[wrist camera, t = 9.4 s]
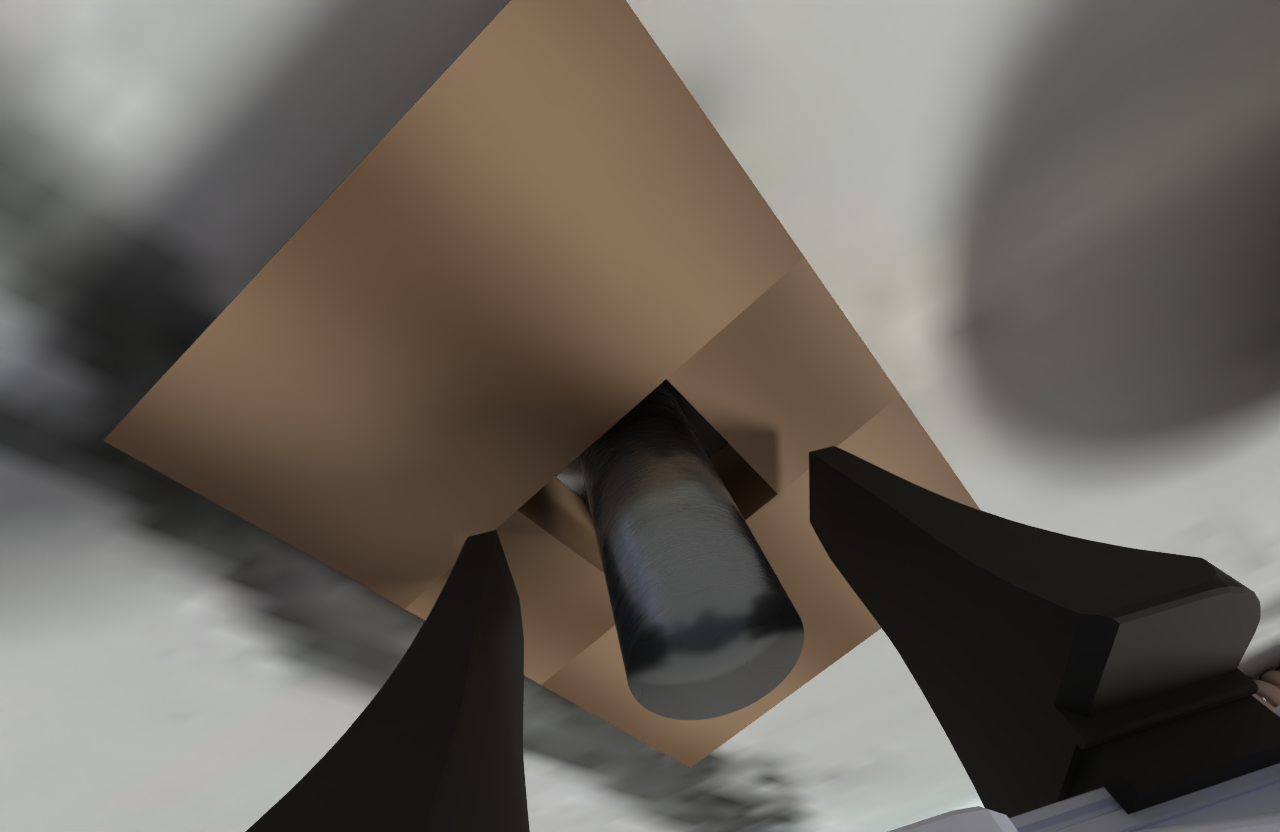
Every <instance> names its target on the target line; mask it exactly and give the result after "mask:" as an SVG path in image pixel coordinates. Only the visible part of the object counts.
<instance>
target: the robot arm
mask: <svg viewBox="0 0 1280 832" xmlns="http://www.w3.org/2000/svg"><path fill="white" fill-rule="evenodd" d="M809 509H810V523H811V525H812V527H813V529H814V531H815V533H816V535H817V536H818V538H819V540H820V542H821V544H822V545H823V547H824V549H825V551H826V552H827V554H828V556H829V558H830V559H831V561H832V562H833V563H834V565H835V566H836V567H837V569H838V570H839V572H840V573H841V574H842V576H843V577H844V578H845V580H846V581H847V582H848V584H849V585H850V586H851V588H852V589H853V590H854V592H855V593H856V594H857V596H858V597H859V598H860V600H861V601H862V602H863V604H864V605H865V606H866V608H867V609H868V610H869V612H870V613H871V614H872V616H873V617H874V618H875V620H876V621H877V622H878V624H879V625H880V626H881V628H882V629H883V630H884V632H885V633H886V634H887V636H888V637H889V639H890V640H891V642H892V643H893V645H894V646H895V648H896V649H897V650H898V652H899V654H900V655H901V657H902V659H903V660H904V662H905V664H906V665H907V667H908V669H909V670H910V672H911V674H912V675H913V677H914V679H915V680H916V682H917V684H918V685H919V687H920V689H921V690H922V692H923V694H924V696H925V697H926V699H927V701H928V703H929V704H930V706H931V708H932V710H933V711H934V713H935V715H936V717H937V718H938V720H939V722H940V724H941V725H942V727H943V729H944V731H945V732H946V734H947V736H948V738H949V740H950V742H951V744H952V746H953V747H954V749H955V751H956V753H957V755H958V757H959V759H960V760H961V762H962V764H963V766H964V768H965V770H966V772H967V774H968V775H969V777H970V779H971V781H972V783H973V785H974V787H975V789H976V791H977V793H978V795H979V797H980V799H981V801H982V803H983V805H984V807H985V808H982V807H979V806H977V807H972V808H966V809H960V810H954V811H950V812H947V813H944V814H941V815H937V816H934V817H931V818H928V819H925V820H922V821H919V822H916V823H913V824H910V825H907V826H904V827H901V828H898V829H895V830H892V831H889V832H1280V705H1279V706H1278V707H1276V708H1275V709H1274V710H1273V711H1271V710H1270V709H1269V708H1268V707H1266V706H1265V705H1264V704H1263V703H1261V702H1260V701H1259V700H1257V699H1256V698H1255V697H1254V696H1252V695H1253V694H1256V692H1257V691H1258V689H1259V688H1258V686H1257V684H1256V682H1254V681H1253V680H1252V679H1250V678H1249V677H1248V676H1247V675H1245V674H1244V673H1243V672H1241V671H1240V670H1239V669H1237V667H1238V665H1239V663H1240V661H1241V659H1242V657H1243V655H1244V653H1245V651H1246V649H1247V647H1248V645H1249V643H1250V641H1251V639H1252V637H1253V635H1254V634H1255V632H1256V629H1257V626H1258V623H1259V621H1260V601H1259V599H1258V598H1257V596H1256V594H1255V593H1254V592H1253V591H1252V590H1250V589H1248V588H1247V587H1245V586H1244V585H1242V584H1241V583H1239V582H1238V581H1236V580H1235V579H1233V578H1232V577H1230V576H1229V575H1227V574H1226V573H1224V572H1223V571H1221V570H1220V569H1218V568H1217V567H1215V566H1214V565H1212V564H1211V563H1209V562H1207V561H1206V560H1204V559H1203V558H1198V557H1191V556H1184V555H1176V554H1169V553H1161V552H1154V551H1147V550H1139V549H1133V548H1127V547H1121V546H1116V545H1111V544H1106V543H1100V542H1095V541H1090V540H1085V539H1081V538H1076V537H1072V536H1067V535H1063V534H1059V533H1055V532H1051V531H1047V530H1043V529H1040V528H1036V527H1032V526H1028V525H1025V524H1021V523H1018V522H1014V521H1011V520H1008V519H1005V518H1002V517H999V516H996V515H993V514H990V513H987V512H984V511H981V510H977V509H975V508H972V507H969V506H967V505H964V504H961V503H959V502H956V501H954V500H951V499H949V498H946V497H944V496H941V495H939V494H937V493H934V492H932V491H929V490H927V489H925V488H923V487H920V486H918V485H916V484H914V483H911V482H909V481H907V480H905V479H903V478H901V477H899V476H896V475H894V474H892V473H890V472H888V471H886V470H884V469H882V468H880V467H878V466H876V465H874V464H872V463H870V462H867V461H865V460H863V459H861V458H859V457H857V456H855V455H853V454H851V453H849V452H847V451H845V450H842V449H840V448H838V447H835V446H831V447H827V448H823V449H819V450H815V451H811V452H809ZM523 693H524V635H523V625H522V616H521V607H520V598H519V595H518V592H517V589H516V586H515V583H514V580H513V577H512V574H511V572H510V569H509V566H508V563H507V560H506V557H505V554H504V551H503V548H502V545H501V542H500V539H499V536H498V533H497V530H493V531H489V532H485V533H481V534H477V535H473V536H469V537H468V538H467V539H466V541H465V542H464V544H463V547H462V549H461V551H460V553H459V556H458V558H457V560H456V562H455V564H454V566H453V569H452V571H451V573H450V575H449V577H448V579H447V581H446V583H445V585H444V587H443V589H442V591H441V593H440V595H439V597H438V598H437V600H436V602H435V604H434V606H433V608H432V610H431V612H430V614H429V615H428V617H427V619H426V621H425V622H424V624H423V626H422V627H421V629H420V631H419V632H418V634H417V636H416V637H415V639H414V641H413V642H412V644H411V646H410V647H409V649H408V650H407V652H406V654H405V655H404V657H403V658H402V660H401V661H400V663H399V664H398V666H397V667H396V669H395V670H394V671H393V673H392V674H391V676H390V677H389V678H388V680H387V681H386V683H385V684H384V685H383V687H382V688H381V689H380V691H379V692H378V693H377V695H376V696H375V697H374V699H373V700H372V701H371V702H370V704H369V705H368V706H367V707H366V708H365V710H364V711H363V712H362V713H361V714H360V716H359V717H358V718H357V719H356V720H355V722H354V723H353V724H352V725H351V727H350V728H349V729H348V730H347V731H346V733H345V734H344V735H343V736H342V737H341V738H340V739H339V740H338V741H337V743H336V744H335V745H334V746H333V747H332V748H331V749H330V750H329V751H328V752H327V753H326V755H325V756H324V757H323V758H322V759H321V760H320V761H319V762H318V763H317V764H316V765H315V766H314V767H313V768H312V769H311V770H310V771H309V772H308V773H307V774H306V775H305V776H304V777H303V778H302V779H301V780H300V781H299V782H298V783H297V784H296V785H295V786H294V787H293V788H292V789H291V790H290V791H289V792H288V793H287V794H286V795H285V796H284V797H283V798H282V799H281V800H279V801H278V802H277V803H276V804H275V805H274V806H273V807H272V808H271V809H270V810H269V811H268V812H267V813H265V814H264V815H263V816H262V817H261V818H260V819H259V820H258V821H257V822H256V823H255V824H254V825H252V826H251V827H250V828H249V829H248V830H247V831H246V832H530V831H529V821H528V810H527V799H526V787H525V774H524V762H523Z"/></svg>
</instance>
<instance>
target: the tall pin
mask: <svg viewBox="0 0 1280 832" xmlns="http://www.w3.org/2000/svg"><path fill="white" fill-rule="evenodd" d="M579 461H580V465H581V470H582V474H583V479H584V484H585V488H586V493H587V497H588V502H589V507H590V511H591V516H592V520H593V525H594V530H595V534H596V539H597V543H598V548H599V553H600V557H601V562H602V566H603V571H604V576H605V580H606V585H607V589H608V594H609V599H610V603H611V608H612V612H613V617H614V622H615V626H616V631H617V636H618V640H619V645H620V649H621V654H622V659H623V663H624V668H625V672H626V677H627V682H628V686H629V688H630V691H631V693H632V695H633V696H634V698H635V699H636V700H637V701H638V702H639V703H640V704H641V705H642V706H643V707H644V708H646V709H647V710H649V711H651V712H653V713H655V714H657V715H660V716H663V717H666V718H671V719H677V720H703V719H710V718H715V717H719V716H723V715H727V714H730V713H733V712H735V711H738V710H740V709H743V708H745V707H747V706H749V705H751V704H753V703H754V702H756V701H758V700H760V699H761V698H763V697H764V696H766V695H767V694H768V693H770V692H771V691H772V690H773V689H775V688H776V687H777V686H778V685H779V684H780V683H781V682H782V681H783V680H784V679H785V678H786V677H787V676H788V674H789V673H790V672H791V670H792V669H793V667H794V666H795V664H796V662H797V660H798V659H799V657H800V654H801V651H802V648H803V643H804V628H803V623H802V621H801V618H800V616H799V614H798V612H797V611H796V609H795V607H794V605H793V604H792V602H791V600H790V598H789V597H788V595H787V593H786V591H785V590H784V588H783V586H782V584H781V583H780V581H779V579H778V577H777V576H776V574H775V572H774V570H773V569H772V567H771V565H770V563H769V562H768V560H767V558H766V556H765V555H764V553H763V551H762V549H761V548H760V546H759V544H758V542H757V541H756V539H755V537H754V535H753V534H752V532H751V530H750V528H749V527H748V525H747V523H746V521H745V520H744V518H743V516H742V514H741V513H740V511H739V509H738V507H737V506H736V504H735V502H734V500H733V499H732V497H731V495H730V494H729V492H728V490H727V488H726V487H725V485H724V483H723V481H722V480H721V478H720V476H719V474H718V473H717V471H716V469H715V467H714V466H713V464H712V462H711V460H710V459H709V457H708V455H707V453H706V452H705V450H704V448H703V446H702V445H701V443H700V441H699V439H698V438H697V436H696V434H695V432H694V431H693V429H692V427H691V425H690V424H689V422H688V420H687V418H686V417H685V415H684V413H683V411H682V410H681V408H680V406H679V404H678V403H677V401H676V399H675V398H674V396H673V394H672V393H671V392H670V391H669V389H668V388H666V387H665V386H664V385H663V384H660V385H659V386H658V387H656V388H655V389H654V390H653V391H652V392H651V393H650V394H648V395H647V396H646V397H645V398H644V399H643V400H642V401H641V402H639V403H638V404H637V405H636V406H635V407H634V408H633V409H631V410H630V411H629V412H628V413H627V414H626V415H625V416H623V417H622V418H621V419H620V420H619V421H618V422H617V423H616V424H614V425H613V426H612V427H611V428H610V429H609V430H608V431H606V432H605V433H604V434H603V435H602V436H601V437H600V438H598V439H597V440H596V441H595V442H594V443H593V444H592V445H591V446H589V447H588V448H587V449H586V450H585V451H584V452H583V453H581V454H580V455H579Z"/></svg>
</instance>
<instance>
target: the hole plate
mask: <svg viewBox="0 0 1280 832" xmlns="http://www.w3.org/2000/svg"><path fill="white" fill-rule="evenodd" d="M666 379H667V380H668V381H669V382H670V383H671V384H672V385H673V386H674V387H675V388H676V389H677V390H678V391H679V392H680V393H681V394H682V396H683V397H684V398H685V399H686V400H687V401H688V402H689V403H690V404H691V405H692V406H693V407H694V408H695V409H696V410H697V411H698V412H699V413H700V414H701V415H702V416H703V417H704V418H705V419H706V420H707V421H708V422H709V423H710V424H711V425H712V426H713V428H714V429H715V430H716V431H717V432H718V433H719V434H720V435H721V436H722V437H723V438H724V439H725V440H726V441H727V442H728V443H727V444H726V445H725V446H724V447H723V448H721V449H720V450H719V451H718V452H717V453H715V454H714V455H713V456H712V457H711V458H709V459H710V460H711V462H712V464H713V466H714V467H715V469H716V471H717V473H718V474H719V476H720V478H721V480H722V481H723V483H724V485H725V487H726V488H727V490H728V492H729V494H730V495H731V497H732V499H733V500H734V502H735V504H736V506H737V507H738V509H739V511H740V513H741V514H742V516H743V518H744V520H745V521H746V523H747V525H748V527H749V528H750V530H751V532H752V534H753V535H754V537H755V539H756V541H757V542H758V544H759V546H760V548H761V549H762V551H763V553H764V555H765V556H766V558H767V560H768V562H769V563H770V565H771V567H772V569H773V570H774V572H775V574H776V576H777V577H778V579H779V581H780V583H781V584H782V586H783V588H784V590H785V591H786V593H787V595H788V597H789V598H790V600H791V602H792V604H793V605H794V607H795V609H796V611H797V612H798V614H799V616H800V618H801V621H802V623H803V628H804V643H803V648H802V651H801V654H800V657H799V659H798V660H797V662H796V664H795V666H794V667H793V669H792V670H791V672H790V673H789V674H788V676H787V677H786V678H785V679H784V680H783V681H782V682H781V683H780V684H779V685H778V686H777V687H776V688H775V689H773V690H772V691H771V692H770V693H768V694H767V695H766V696H764V697H763V698H761V699H760V700H758V701H756V702H754V703H753V704H751V705H749V706H747V707H745V708H743V709H740V710H738V711H735V712H733V713H730V714H727V715H723V716H719V717H715V718H710V719H703V720H677V719H671V718H666V717H663V716H660V715H657V714H655V713H653V712H651V711H649V710H647V709H646V708H644V707H643V706H642V705H641V704H640V703H639V702H638V701H637V700H636V699H635V698H634V696H633V695H632V693H631V691H630V688H629V686H628V682H627V677H626V672H625V668H624V663H623V659H622V654H621V649H620V645H619V640H618V636H617V631H616V626H615V622H614V617H613V612H612V608H611V603H610V599H609V594H608V589H607V585H606V580H605V576H604V571H603V566H602V562H601V557H600V553H599V548H598V543H597V539H596V534H595V530H594V525H593V520H592V516H591V511H590V507H589V504H588V503H587V502H586V501H585V500H583V499H582V498H581V497H579V496H578V495H577V494H576V493H574V492H573V491H572V490H571V489H569V488H568V487H567V486H566V485H564V484H563V483H562V482H561V481H559V480H558V479H557V478H556V477H555V476H556V475H558V474H559V473H560V472H561V471H562V470H563V469H564V468H566V467H567V466H568V465H569V464H570V463H571V462H572V461H573V460H575V459H576V458H577V457H578V456H579V455H580V454H581V453H583V452H584V451H585V450H586V449H587V448H588V447H589V446H591V445H592V444H593V443H594V442H595V441H596V440H597V439H598V438H600V437H601V436H602V435H603V434H604V433H605V432H606V431H608V430H609V429H610V428H611V427H612V426H613V425H614V424H616V423H617V422H618V421H619V420H620V419H621V418H622V417H623V416H625V415H626V414H627V413H628V412H629V411H630V410H631V409H633V408H634V407H635V406H636V405H637V404H638V403H639V402H641V401H642V400H643V399H644V398H645V397H646V396H647V395H648V394H650V393H651V392H652V391H653V390H654V389H655V388H656V387H658V386H659V385H660V384H661V383H662V382H663V381H664V380H666ZM103 441H105V442H106V443H108V444H110V445H112V446H114V447H115V448H117V449H119V450H121V451H123V452H124V453H126V454H128V455H130V456H132V457H133V458H135V459H137V460H139V461H140V462H142V463H144V464H146V465H148V466H149V467H151V468H153V469H155V470H157V471H158V472H160V473H162V474H164V475H166V476H167V477H169V478H171V479H173V480H175V481H176V482H178V483H180V484H182V485H183V486H185V487H187V488H189V489H191V490H192V491H194V492H196V493H198V494H200V495H201V496H203V497H205V498H207V499H209V500H210V501H212V502H214V503H216V504H218V505H219V506H221V507H223V508H225V509H226V510H228V511H230V512H232V513H234V514H235V515H237V516H239V517H241V518H243V519H244V520H246V521H248V522H250V523H252V524H253V525H255V526H257V527H259V528H261V529H262V530H264V531H266V532H268V533H270V534H271V535H273V536H275V537H277V538H278V539H280V540H282V541H284V542H286V543H287V544H289V545H291V546H293V547H295V548H296V549H298V550H300V551H302V552H304V553H305V554H307V555H309V556H311V557H313V558H314V559H316V560H318V561H320V562H321V563H323V564H325V565H327V566H329V567H330V568H332V569H334V570H336V571H338V572H339V573H341V574H343V575H345V576H347V577H348V578H350V579H352V580H354V581H356V582H357V583H359V584H361V585H363V586H364V587H366V588H368V589H370V590H372V591H373V592H375V593H377V594H379V595H381V596H382V597H384V598H386V599H388V600H390V601H391V602H393V603H395V604H397V605H399V606H400V607H402V608H404V609H406V610H407V611H409V612H411V613H413V614H415V615H416V616H418V617H420V618H422V619H424V620H425V621H426V619H427V617H428V615H429V614H430V612H431V610H432V608H433V606H434V604H435V602H436V600H437V598H438V597H439V595H440V593H441V591H442V589H443V587H444V585H445V583H446V581H447V579H448V577H449V575H450V573H451V571H452V569H453V566H454V564H455V562H456V560H457V558H458V556H459V553H460V551H461V549H462V547H463V544H464V542H465V541H466V539H467V538H468V537H469V536H473V535H477V534H481V533H485V532H489V531H493V530H497V533H498V536H499V539H500V542H501V545H502V548H503V551H504V554H505V557H506V560H507V563H508V566H509V569H510V572H511V574H512V577H513V580H514V583H515V586H516V589H517V592H518V595H519V598H520V607H521V616H522V625H523V635H524V676H526V677H528V678H529V679H531V680H533V681H535V682H537V683H538V684H540V685H542V686H544V687H545V688H547V689H549V690H551V691H553V692H554V693H556V694H558V695H560V696H562V697H563V698H565V699H567V700H569V701H571V702H572V703H574V704H576V705H578V706H580V707H581V708H583V709H585V710H587V711H588V712H590V713H592V714H594V715H596V716H597V717H599V718H601V719H603V720H605V721H606V722H608V723H610V724H612V725H614V726H615V727H617V728H619V729H621V730H623V731H624V732H626V733H628V734H630V735H631V736H633V737H635V738H637V739H639V740H640V741H642V742H644V743H646V744H648V745H649V746H651V747H653V748H655V749H657V750H658V751H660V752H662V753H664V754H666V755H667V756H669V757H671V758H673V759H674V760H676V761H678V762H680V763H682V764H683V765H685V766H687V767H689V768H691V767H692V766H693V765H695V764H696V763H697V762H699V761H700V760H702V759H703V758H704V757H706V756H707V755H708V754H710V753H711V752H713V751H714V750H715V749H717V748H718V747H719V746H721V745H722V744H723V743H725V742H726V741H728V740H729V739H730V738H732V737H733V736H734V735H736V734H737V733H738V732H740V731H741V730H743V729H744V728H745V727H747V726H748V725H749V724H751V723H752V722H754V721H755V720H756V719H758V718H759V717H760V716H762V715H763V714H764V713H766V712H767V711H769V710H770V709H771V708H773V707H774V706H775V705H777V704H778V703H780V702H781V701H782V700H784V699H785V698H786V697H788V696H789V695H790V694H792V693H793V692H795V691H796V690H797V689H799V688H800V687H801V686H803V685H804V684H805V683H807V682H808V681H810V680H811V679H812V678H814V677H815V676H816V675H818V674H819V673H821V672H822V671H823V670H825V669H826V668H827V667H829V666H830V665H831V664H833V663H834V662H836V661H837V660H838V659H840V658H841V657H842V656H844V655H845V654H847V653H848V652H849V651H851V650H852V649H853V648H855V647H856V646H857V645H859V644H860V643H862V642H863V641H864V640H866V639H867V638H868V637H870V636H871V635H873V634H874V633H875V632H877V631H878V630H879V629H881V626H880V625H879V624H878V622H877V621H876V620H875V618H874V617H873V616H872V614H871V613H870V612H869V610H868V609H867V608H866V606H865V605H864V604H863V602H862V601H861V600H860V598H859V597H858V596H857V594H856V593H855V592H854V590H853V589H852V588H851V586H850V585H849V584H848V582H847V581H846V580H845V578H844V577H843V576H842V574H841V573H840V572H839V570H838V569H837V567H836V566H835V565H834V563H833V562H832V561H831V559H830V558H829V556H828V554H827V552H826V551H825V549H824V547H823V545H822V544H821V542H820V540H819V538H818V536H817V535H816V533H815V531H814V529H813V527H812V525H811V523H810V509H809V452H811V451H815V450H819V449H823V448H827V447H831V446H835V447H838V448H840V449H842V450H845V451H847V452H849V453H851V454H853V455H855V456H857V457H859V458H861V459H863V460H865V461H867V462H870V463H872V464H874V465H876V466H878V467H880V468H882V469H884V470H886V471H888V472H890V473H892V474H894V475H896V476H899V477H901V478H903V479H905V480H907V481H909V482H911V483H914V484H916V485H918V486H920V487H923V488H925V489H927V490H929V491H932V492H934V493H937V494H939V495H941V496H944V497H946V498H949V499H951V500H954V501H956V502H959V503H961V504H964V505H967V506H969V507H972V508H975V509H977V510H980V509H979V507H978V506H977V504H976V503H975V502H974V500H973V499H972V497H971V496H970V494H969V493H968V492H967V490H966V489H965V487H964V486H963V484H962V483H961V482H960V480H959V479H958V477H957V476H956V474H955V473H954V471H953V470H952V469H951V467H950V466H949V464H948V463H947V461H946V460H945V459H944V457H943V456H942V454H941V453H940V451H939V450H938V448H937V447H936V446H935V444H934V443H933V441H932V440H931V438H930V437H929V436H928V434H927V433H926V431H925V430H924V428H923V427H922V425H921V424H920V423H919V421H918V420H917V418H916V417H915V415H914V414H913V413H912V411H911V410H910V408H909V407H908V405H907V404H906V402H905V401H904V400H903V398H902V397H901V395H900V394H899V392H898V391H897V390H896V388H895V387H894V385H893V384H892V382H891V381H890V379H889V378H888V377H887V375H886V374H885V372H884V371H883V369H882V368H881V367H880V365H879V364H878V362H877V361H876V359H875V358H874V356H873V355H872V354H871V352H870V351H869V349H868V348H867V346H866V345H865V344H864V342H863V341H862V339H861V338H860V336H859V335H858V333H857V332H856V331H855V329H854V328H853V326H852V325H851V323H850V322H849V321H848V319H847V318H846V316H845V315H844V313H843V312H842V310H841V309H840V308H839V306H838V305H837V303H836V302H835V300H834V299H833V298H832V296H831V295H830V293H829V292H828V290H827V289H826V288H825V286H824V285H823V283H822V282H821V280H820V279H819V277H818V276H817V275H816V273H815V272H814V270H813V269H812V267H811V266H810V265H809V263H808V262H807V260H806V259H805V257H804V256H803V254H802V253H801V252H800V250H799V249H798V247H797V246H796V244H795V243H794V242H793V240H792V239H791V237H790V236H789V234H788V233H787V231H786V230H785V229H784V227H783V226H782V224H781V223H780V221H779V220H778V219H777V217H776V216H775V214H774V213H773V211H772V210H771V208H770V207H769V206H768V204H767V203H766V201H765V200H764V198H763V197H762V196H761V194H760V193H759V191H758V190H757V188H756V187H755V185H754V184H753V183H752V181H751V180H750V178H749V177H748V175H747V174H746V173H745V171H744V170H743V168H742V167H741V165H740V164H739V162H738V161H737V160H736V158H735V157H734V155H733V154H732V152H731V151H730V150H729V148H728V147H727V145H726V144H725V142H724V141H723V139H722V138H721V137H720V135H719V134H718V132H717V131H716V129H715V128H714V127H713V125H712V124H711V122H710V121H709V119H708V118H707V116H706V115H705V114H704V112H703V111H702V109H701V108H700V106H699V105H698V104H697V102H696V101H695V99H694V98H693V96H692V95H691V94H690V92H689V91H688V89H687V88H686V86H685V85H684V83H683V82H682V81H681V79H680V78H679V76H678V75H677V73H676V72H675V71H674V69H673V68H672V66H671V65H670V63H669V62H668V60H667V59H666V58H665V56H664V55H663V53H662V52H661V50H660V49H659V48H658V46H657V45H656V43H655V42H654V40H653V39H652V37H651V36H650V35H649V33H648V32H647V30H646V29H645V27H644V26H643V25H642V23H641V22H640V20H639V19H638V17H637V16H636V14H635V13H634V12H633V10H632V9H631V7H630V6H629V4H628V3H627V2H626V0H511V1H510V2H509V3H508V4H507V5H506V6H505V7H504V8H503V9H502V10H501V11H500V13H499V14H498V15H497V16H496V17H495V18H494V19H493V20H492V21H491V22H490V23H489V24H488V26H487V27H486V28H485V29H484V30H483V31H482V32H481V33H480V34H479V35H478V36H477V37H476V38H475V40H474V41H473V42H472V43H471V44H470V45H469V46H468V47H467V48H466V49H465V50H464V51H463V53H462V54H461V55H460V56H459V57H458V58H457V59H456V60H455V61H454V62H453V63H452V64H451V65H450V67H449V68H448V69H447V70H446V71H445V72H444V73H443V74H442V75H441V76H440V77H439V78H438V80H437V81H436V82H435V83H434V84H433V85H432V86H431V87H430V88H429V89H428V90H427V91H426V92H425V94H424V95H423V96H422V97H421V98H420V99H419V100H418V101H417V102H416V103H415V104H414V105H413V107H412V108H411V109H410V110H409V111H408V112H407V113H406V114H405V115H404V116H403V117H402V118H401V119H400V121H399V122H398V123H397V124H396V125H395V126H394V127H393V128H392V129H391V130H390V131H389V132H388V133H387V135H386V136H385V137H384V138H383V139H382V140H381V141H380V142H379V143H378V144H377V145H376V146H375V148H374V149H373V150H372V151H371V152H370V153H369V154H368V155H367V156H366V157H365V158H364V159H363V160H362V162H361V163H360V164H359V165H358V166H357V167H356V168H355V169H354V170H353V171H352V172H351V173H350V175H349V176H348V177H347V178H346V179H345V180H344V181H343V182H342V183H341V184H340V185H339V186H338V187H337V189H336V190H335V191H334V192H333V193H332V194H331V195H330V196H329V197H328V198H327V199H326V200H325V202H324V203H323V204H322V205H321V206H320V207H319V208H318V209H317V210H316V211H315V212H314V213H313V214H312V216H311V217H310V218H309V219H308V220H307V221H306V222H305V223H304V224H303V225H302V226H301V227H300V229H299V230H298V231H297V232H296V233H295V234H294V235H293V236H292V237H291V238H290V239H289V240H288V241H287V243H286V244H285V245H284V246H283V247H282V248H281V249H280V250H279V251H278V252H277V253H276V254H275V256H274V257H273V258H272V259H271V260H270V261H269V262H268V263H267V264H266V265H265V266H264V267H263V268H262V270H261V271H260V272H259V273H258V274H257V275H256V276H255V277H254V278H253V279H252V280H251V281H250V282H249V284H248V285H247V286H246V287H245V288H244V289H243V290H242V291H241V292H240V293H239V294H238V295H237V297H236V298H235V299H234V300H233V301H232V302H231V303H230V304H229V305H228V306H227V307H226V308H225V309H224V311H223V312H222V313H221V314H220V315H219V316H218V317H217V318H216V319H215V320H214V321H213V322H212V324H211V325H210V326H209V327H208V328H207V329H206V330H205V331H204V332H203V333H202V334H201V335H200V336H199V338H198V339H197V340H196V341H195V342H194V343H193V344H192V345H191V346H190V347H189V348H188V349H187V351H186V352H185V353H184V354H183V355H182V356H181V357H180V358H179V359H178V360H177V361H176V362H175V363H174V365H173V366H172V367H171V368H170V369H169V370H168V371H167V372H166V373H165V374H164V375H163V376H162V378H161V379H160V380H159V381H158V382H157V383H156V384H155V385H154V386H153V387H152V388H151V389H150V390H149V392H148V393H147V394H146V395H145V396H144V397H143V398H142V399H141V400H140V401H139V402H138V403H137V405H136V406H135V407H134V408H133V409H132V410H131V411H130V412H129V413H128V414H127V415H126V416H125V417H124V419H123V420H122V421H121V422H120V423H119V424H118V425H117V426H116V427H115V428H114V429H113V430H112V431H111V433H110V434H109V435H108V436H107V437H106V438H105V439H104V440H103Z"/></svg>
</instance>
